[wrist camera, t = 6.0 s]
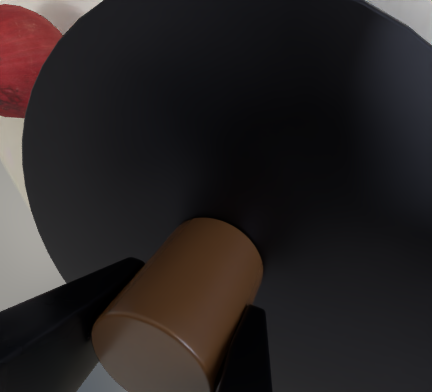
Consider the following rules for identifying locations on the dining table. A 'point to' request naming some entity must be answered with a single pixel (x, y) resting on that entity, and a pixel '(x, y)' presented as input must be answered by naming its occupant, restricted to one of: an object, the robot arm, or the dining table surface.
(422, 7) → the dining table surface
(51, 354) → the robot arm
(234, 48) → the lid
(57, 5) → the dining table surface
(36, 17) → the onion
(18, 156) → the dining table surface
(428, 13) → the dining table surface
